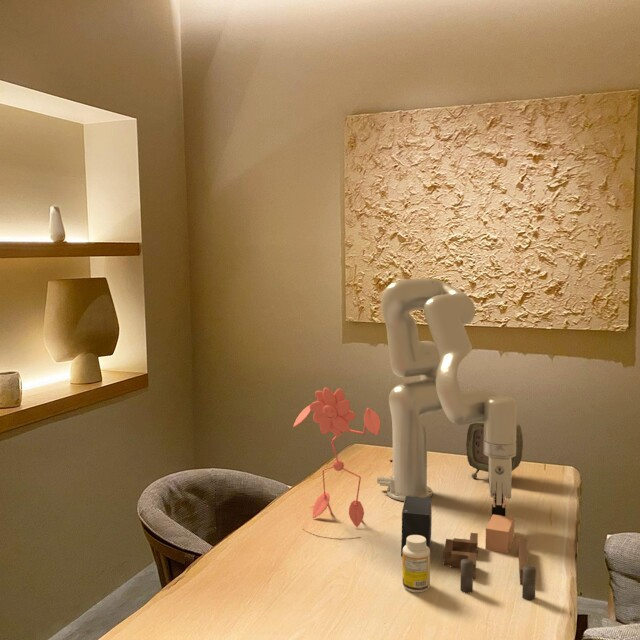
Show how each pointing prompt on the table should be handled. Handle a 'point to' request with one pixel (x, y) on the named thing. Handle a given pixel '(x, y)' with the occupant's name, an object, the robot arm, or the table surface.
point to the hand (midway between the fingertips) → (498, 521)
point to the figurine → (334, 418)
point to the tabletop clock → (477, 448)
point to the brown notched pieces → (464, 558)
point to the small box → (416, 519)
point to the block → (500, 533)
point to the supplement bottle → (416, 564)
